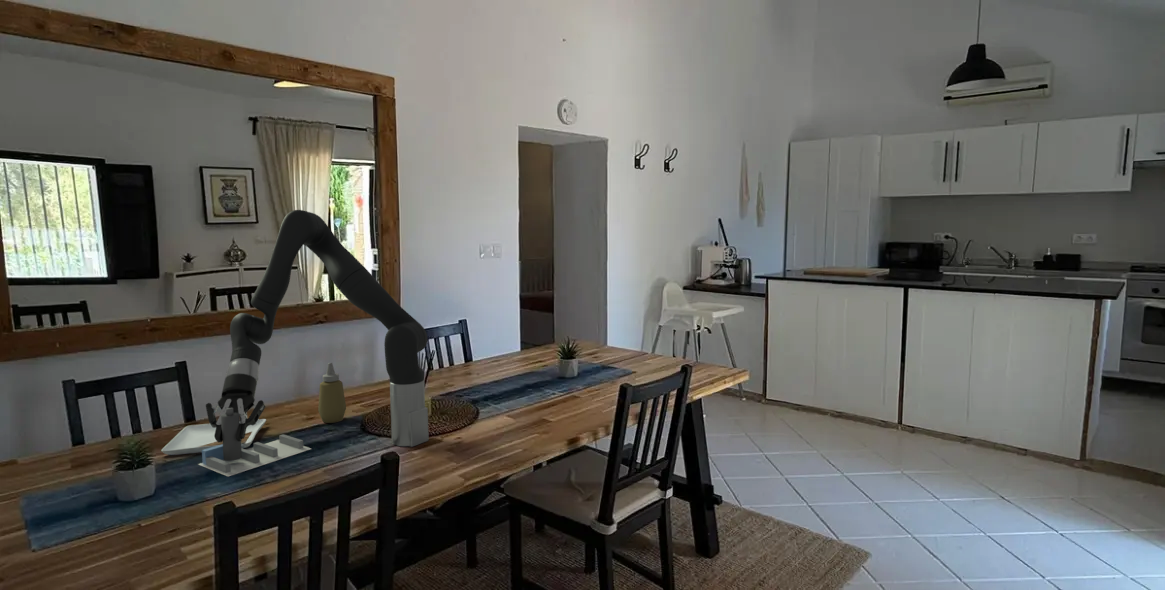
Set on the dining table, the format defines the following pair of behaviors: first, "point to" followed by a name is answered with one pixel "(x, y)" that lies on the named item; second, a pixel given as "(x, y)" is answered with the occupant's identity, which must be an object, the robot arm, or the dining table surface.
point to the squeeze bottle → (331, 397)
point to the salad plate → (202, 438)
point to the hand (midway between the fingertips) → (228, 440)
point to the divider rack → (252, 455)
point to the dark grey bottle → (230, 435)
